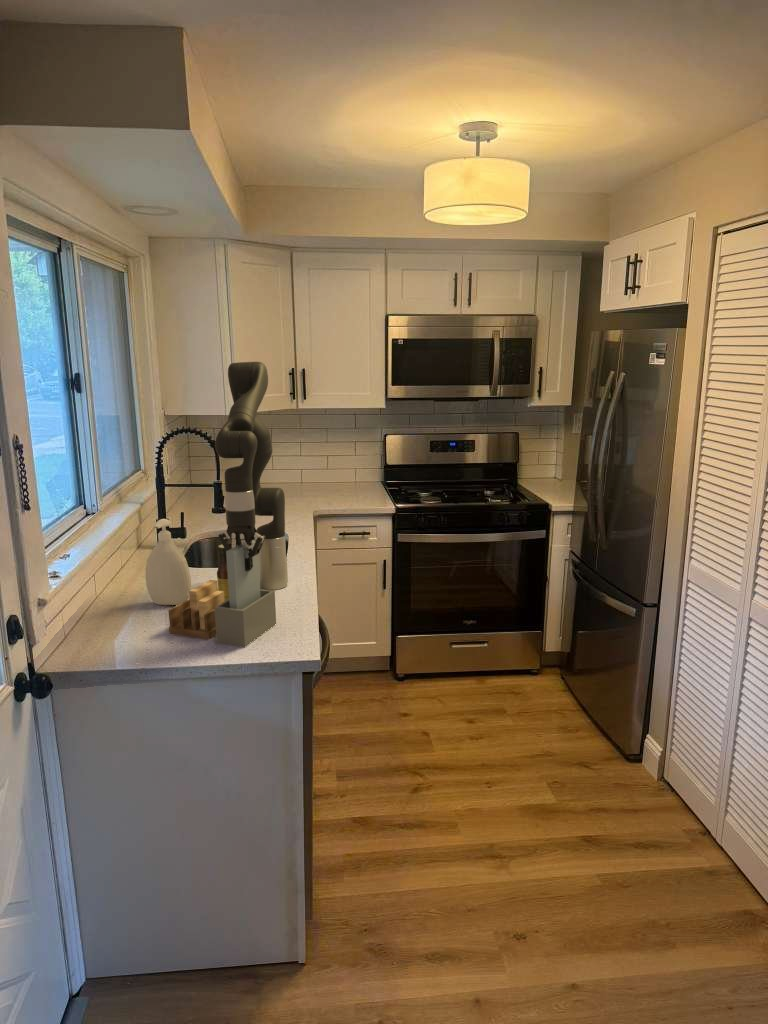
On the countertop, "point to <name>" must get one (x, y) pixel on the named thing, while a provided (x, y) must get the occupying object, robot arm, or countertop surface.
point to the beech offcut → (209, 605)
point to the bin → (245, 620)
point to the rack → (183, 623)
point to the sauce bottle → (223, 572)
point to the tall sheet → (242, 579)
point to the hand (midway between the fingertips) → (243, 569)
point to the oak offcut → (201, 594)
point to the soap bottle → (167, 570)
